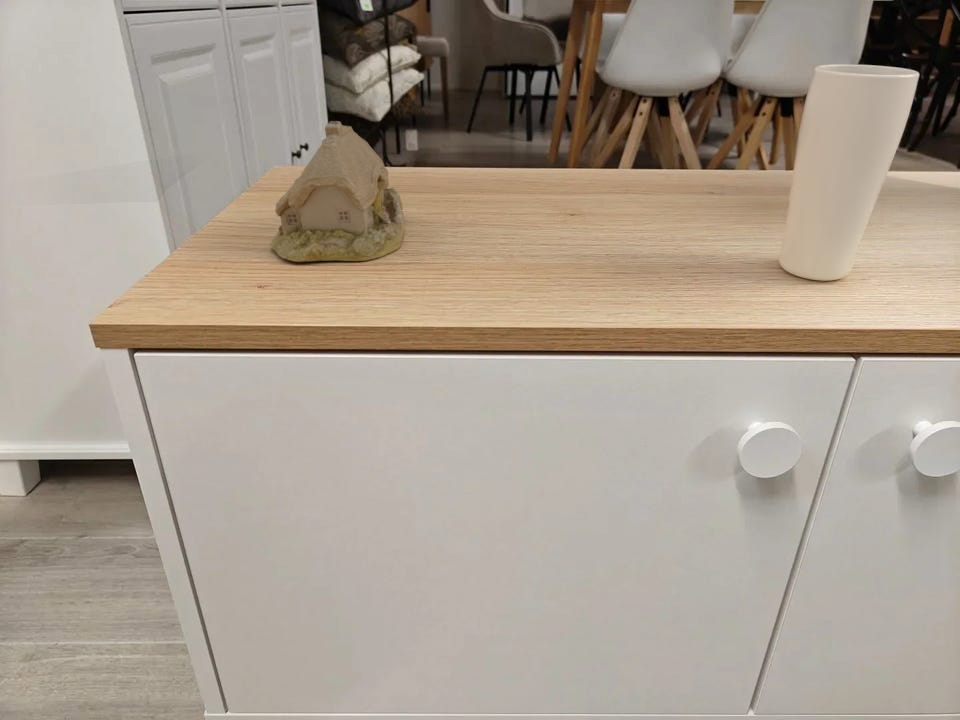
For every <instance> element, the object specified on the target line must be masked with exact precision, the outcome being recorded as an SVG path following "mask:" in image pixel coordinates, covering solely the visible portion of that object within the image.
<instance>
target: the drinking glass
mask: <svg viewBox="0 0 960 720" xmlns="http://www.w3.org/2000/svg"><path fill="white" fill-rule="evenodd" d="M919 78H920V72H919V71H917V70H914V69H910V68H904V67H896V66H886V65H874V64H873V65H872V64H851V63H849V64H845V63H844V64H843V63H842V64H840V63H839V64H836V63H835V64H823V65H817V66H815V67H814V68H813V71H812V75H811V79H810V82H809V86H808V89H807V92H806V97H805V101H804V106H803V109H802V114H801V118H800V122H799V123H800V124H799V130H798V134H797V141H796V148H795V156H794V162H793V171H792V177H791V184H790V190H789V198H788V205H787V211H786V212H787V213H786V219H785V224H784V225H785V226H784V232H783V237H782V242H781V247H780V251H779V254H778V255H779V256H778V263H779V265H780V267H781V268H782V269H783V270H784V271H785V272H786V273H788V274H790V275H793V276H796V277H799V278H802V279H807V280H812V281H825V282H826V281H827V282H828V281H836V280H840V279H843V278H845V277H846V276H847V275H849V273H850V272H851V270H852V268H853V265H854V261H855V259H856V255H857V252H858V248H859V245H860V243H861V241H862V238H863V236H864V232H865V230H866V228H867V225H868V222H869V220H870V218H871V215H872V212H873V210H874V208H875V205H876V203H877V200H878V198H879V195H880V193H881V190H882V187H883V185H884V183H885V180H886V177H887V175H888V173H889V170H890V168H891V165H892V163H893V160H894V159H895V155H896V153H897V150H898V148H899V145H900V143H901V140H902V138H903V134H904V131H905V128H906V125H907V122H908V120H909V116H910V112H911V110H912V105H913V103H914V99H915V94H916V91H917V86H918V82H919Z"/></svg>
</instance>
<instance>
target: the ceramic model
mask: <svg viewBox="0 0 960 720" xmlns="http://www.w3.org/2000/svg"><path fill="white" fill-rule="evenodd" d="M324 130H325V133H324V134H325V138H324V139H322V140H321V144H320V146H319V147H318V148H317V150H316V151H315V153H314V154H313V156H312V157H311V159H310V161H309V162H308V163H307V165H306V166H305V168H304V169H303V170H302V173H301V174H300V175H299V176H298V178H296V179H295V180H294V182H293V185H292V186H290V187H289V189H288V190H287V191H286V192H285V193H284V194H283V195H282V196H281V198H279V199H278V201H277V202H276V203H275V211H274V212H275V214H276V215H277V216H278V217H279V218H280V223H281V224H280V226H278V227H277V228H278V231H277V233H276V234H275V236H274V237H273V239H272V241H271V242H270V243H271V244H270V247H271V249H272V250H273V251H274V252H275V253H276V254H277V256H279V257H280V258H282V259H285V260H287V261H291V262H295V263H305V262H320V261H322V262H324V261H327V262H328V261H339V262H340V261H342V262H359V261H360V262H364V261H365V262H366V261H369V260H374V259H375V260H376V259H378V258H382V257H385V256H386V255H389V254H392V253H393V252H395V251H397V250H398V249H400V248H401V246H402V242H403V237H404V233H405V230H406V229H405V225H406V223H405V215H404V211H403V209H404V208H403V203H402V198H401V195H400V193H398V191H397V189H396V188H394V187H391V188H389V184H390V182H389V171H388V169H387V168H386V166H385V164H384V161H383V160H382V158H380V157H379V155H378V154H377V153H376V151H375V150H374V149H373V148H372V147H371V146H370V143H368V141H367V140H365V139H364V138H362V137H361V136H360V135H358V133H357V132H355V131H354V129H353V127H352V126H350V125H343V124H342V122H341V121H338V120H330V121H329V122H328V123H327V124H326V125H325V126H324Z"/></svg>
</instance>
